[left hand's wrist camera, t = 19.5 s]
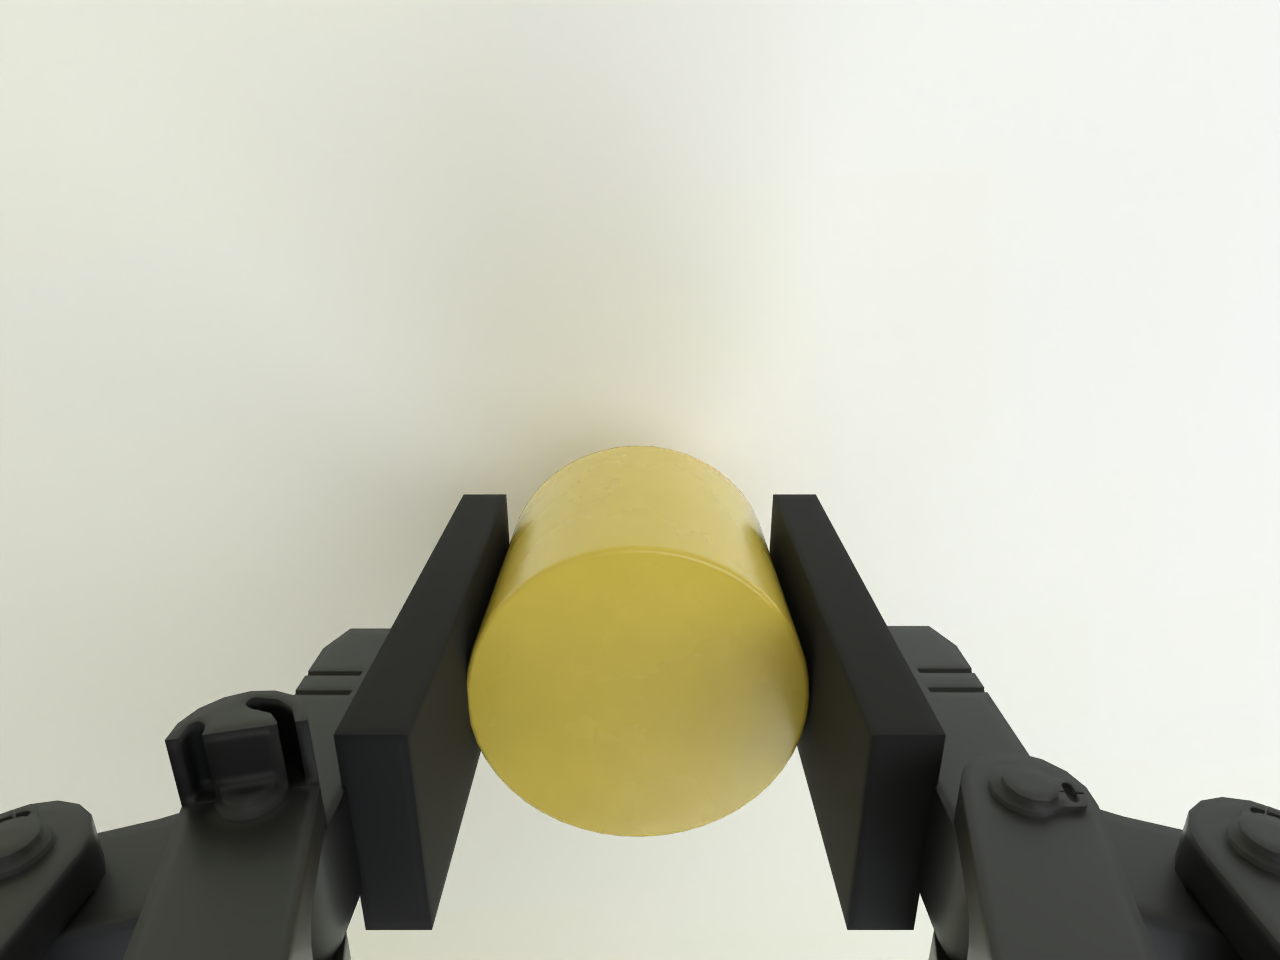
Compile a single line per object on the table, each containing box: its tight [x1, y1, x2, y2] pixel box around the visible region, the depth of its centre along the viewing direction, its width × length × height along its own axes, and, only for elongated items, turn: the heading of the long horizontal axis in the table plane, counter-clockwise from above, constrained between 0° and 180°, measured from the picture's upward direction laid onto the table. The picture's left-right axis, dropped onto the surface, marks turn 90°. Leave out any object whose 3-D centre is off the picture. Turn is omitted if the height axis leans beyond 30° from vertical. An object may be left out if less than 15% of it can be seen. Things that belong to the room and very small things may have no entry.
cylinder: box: [467, 446, 810, 837], centre depth 13 cm, size 5×5×4 cm
